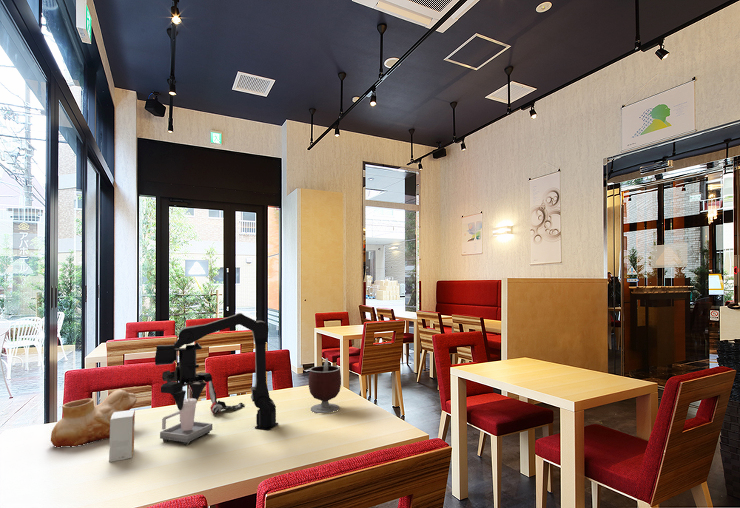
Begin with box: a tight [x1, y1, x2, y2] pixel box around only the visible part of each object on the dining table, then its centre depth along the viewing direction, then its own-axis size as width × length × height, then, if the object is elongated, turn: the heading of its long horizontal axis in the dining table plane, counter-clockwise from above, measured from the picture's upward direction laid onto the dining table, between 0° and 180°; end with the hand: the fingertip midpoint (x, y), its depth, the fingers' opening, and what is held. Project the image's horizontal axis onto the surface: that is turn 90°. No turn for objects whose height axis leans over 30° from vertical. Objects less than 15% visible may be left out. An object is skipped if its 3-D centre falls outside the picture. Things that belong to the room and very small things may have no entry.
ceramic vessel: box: [50, 388, 138, 448], centre depth 148 cm, size 14×26×15 cm, turn 137°
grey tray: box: [159, 410, 213, 446], centre depth 145 cm, size 13×12×8 cm
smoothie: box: [178, 387, 198, 431], centre depth 145 cm, size 6×6×14 cm
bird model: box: [208, 380, 246, 417], centre depth 173 cm, size 20×14×15 cm
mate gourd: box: [308, 357, 342, 414], centre depth 176 cm, size 16×14×20 cm
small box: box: [108, 409, 136, 463], centre depth 131 cm, size 8×6×13 cm
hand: (187, 407), depth 145 cm, fingers closed on smoothie, 6 cm apart
